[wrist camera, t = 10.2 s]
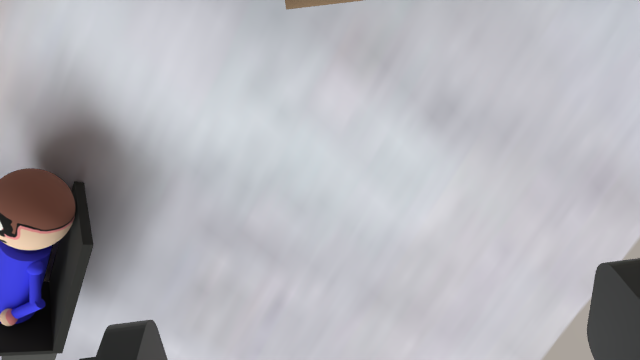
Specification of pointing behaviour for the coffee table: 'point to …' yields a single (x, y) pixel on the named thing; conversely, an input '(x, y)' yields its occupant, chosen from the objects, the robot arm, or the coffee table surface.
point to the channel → (312, 3)
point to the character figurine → (40, 262)
